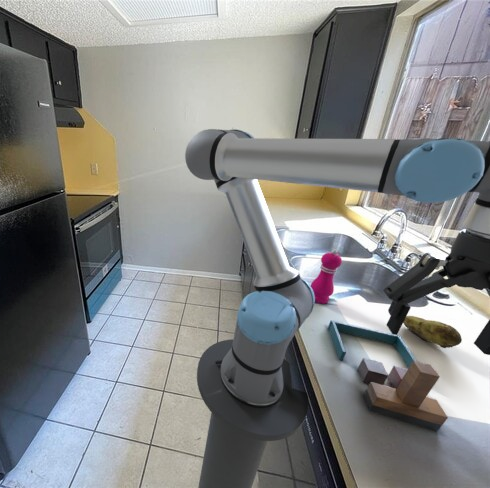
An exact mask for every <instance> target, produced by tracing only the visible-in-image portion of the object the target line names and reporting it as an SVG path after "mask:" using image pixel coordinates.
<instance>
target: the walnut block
mask: <svg viewBox="0 0 490 488" xmlns="http://www.w3.org/2000/svg"><path fill="white" fill-rule="evenodd" d="M357 371H358V373H359V376H360V378H361V381H362V383H366V384H368V385H369V384H370V382H374V383H377V384H381V385H385V383H386V380H387V379H388V375H389V373H388V372H387V370H386V369H385V366H384V364H383V363H382V362H381V361H377V360H374V359H370V358H366V357H362V359H361V361H360V363H359V365H358V367H357Z"/></svg>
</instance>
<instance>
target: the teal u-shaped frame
mask: <svg viewBox="0 0 490 488" xmlns="http://www.w3.org/2000/svg"><path fill="white" fill-rule="evenodd" d="M327 329H328V331H329V333H330V336H331V340H332V342H333V345H334V348H335V351H336V354H337V357H338V360H340V361H344V359H345V357H346V354H347V350H346V348H345V345H344V343H343V340H342V338H341V334H340V333H343V334H347V335H352V336H356V337H361V338H364V339H369V340H373V341H377V342H382V343H386V344H389V345H393V346H394V347H395V349H396V350H397V352H398V354H399V355H400V357H401V358H402V360H403V362H404V363H405V365H406V367H407V369H408V368H409V367H410V365H411V363H412V362H413V361H417V362H418V360H417V359H416V357H415V356H414V354H413V352H412V351H411V350H410V348H409V346H407V343H406V342H405V341H404V340H403V336H401V335H399V334H397V335H395V334H392V333H391V332H385V331H381V330H376V329H372V328H367V327H363V326H359V325H354V324H350V323H346V322H342V321H336V320H330V321H329V323H328V327H327Z"/></svg>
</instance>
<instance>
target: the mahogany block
mask: <svg viewBox="0 0 490 488" xmlns="http://www.w3.org/2000/svg"><path fill="white" fill-rule="evenodd" d="M407 370H408V368H404V367H401V366H396V365H393V366H392V368H391V370H390V372H389V373H388V377H387V379H388V381H389V383H390V385H391V387H392V388H395V389H396V388H397V387H398V385H399V383H400V382H401V380H402V378H403V377H404V375H405V373H406V372H407Z"/></svg>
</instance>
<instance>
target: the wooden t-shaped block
mask: <svg viewBox="0 0 490 488" xmlns="http://www.w3.org/2000/svg"><path fill="white" fill-rule="evenodd" d="M407 369H408V370H407V372H406V373H405V375H404V377H403V378H402V380H401V382H400V383H399V385H398V387H397V388H396V389H395V388H393V387H392V386H388V385H385V384H383V385H381V384H377V383H374V382H370V384H369V383H368V385H367V387H366V390H365V391H364V393H363V397H364V400H365V402H366V405H367V407H368V411H369V412H372V413H376V414H378V415H382V416H385V417H388V418H392V419H395V420H398V421H401V422H405V423H408V424H412V425H415V426H418V427H422V428H425V429H427V430H431V431H434V432H438V431H439V430H440V429H441V428H442V426H443V425H444V424H445V422H446V421H447V420H448V418H449V417H448V415H447V414H446V412H445V411H444V409H443V408H442V405H440V403H439V401H438V400H437V399H435V398H431V397H428V395H429V394H430V392H431V391H432V389H433V388H434V386H435V385H436V383H437V382H438V381H439V379H440V375H439V374H438V372H437V371H436V370H435V368H434V367H433V366H432V364H429V363H426V362H421V361H418V360H417V361H413V362H412V363H411V365H410V367H409V368H408V367H407Z"/></svg>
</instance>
